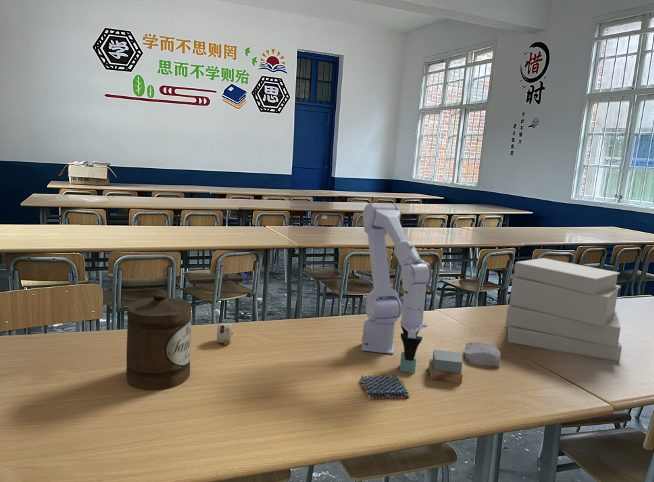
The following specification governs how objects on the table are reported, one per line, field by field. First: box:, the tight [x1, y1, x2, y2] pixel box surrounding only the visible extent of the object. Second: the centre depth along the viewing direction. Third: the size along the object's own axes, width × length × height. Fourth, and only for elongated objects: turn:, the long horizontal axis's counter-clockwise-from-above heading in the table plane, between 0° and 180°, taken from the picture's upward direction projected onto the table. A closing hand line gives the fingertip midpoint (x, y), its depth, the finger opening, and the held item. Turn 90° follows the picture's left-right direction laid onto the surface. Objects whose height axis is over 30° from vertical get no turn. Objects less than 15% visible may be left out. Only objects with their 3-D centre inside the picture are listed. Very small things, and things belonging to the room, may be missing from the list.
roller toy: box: [216, 322, 234, 346], centre depth 143 cm, size 4×6×6 cm
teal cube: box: [399, 351, 417, 374], centre depth 133 cm, size 4×4×4 cm
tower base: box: [428, 358, 463, 384], centre depth 130 cm, size 8×8×3 cm
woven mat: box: [359, 374, 410, 400], centre depth 120 cm, size 10×11×2 cm
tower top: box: [432, 349, 463, 373], centre depth 130 cm, size 7×7×3 cm
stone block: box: [463, 341, 502, 368], centre depth 144 cm, size 12×5×10 cm
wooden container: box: [125, 289, 192, 391], centre depth 117 cm, size 15×15×22 cm
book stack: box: [505, 257, 623, 362], centre depth 162 cm, size 30×35×26 cm
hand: (408, 354), depth 132 cm, fingers open, 7 cm apart
